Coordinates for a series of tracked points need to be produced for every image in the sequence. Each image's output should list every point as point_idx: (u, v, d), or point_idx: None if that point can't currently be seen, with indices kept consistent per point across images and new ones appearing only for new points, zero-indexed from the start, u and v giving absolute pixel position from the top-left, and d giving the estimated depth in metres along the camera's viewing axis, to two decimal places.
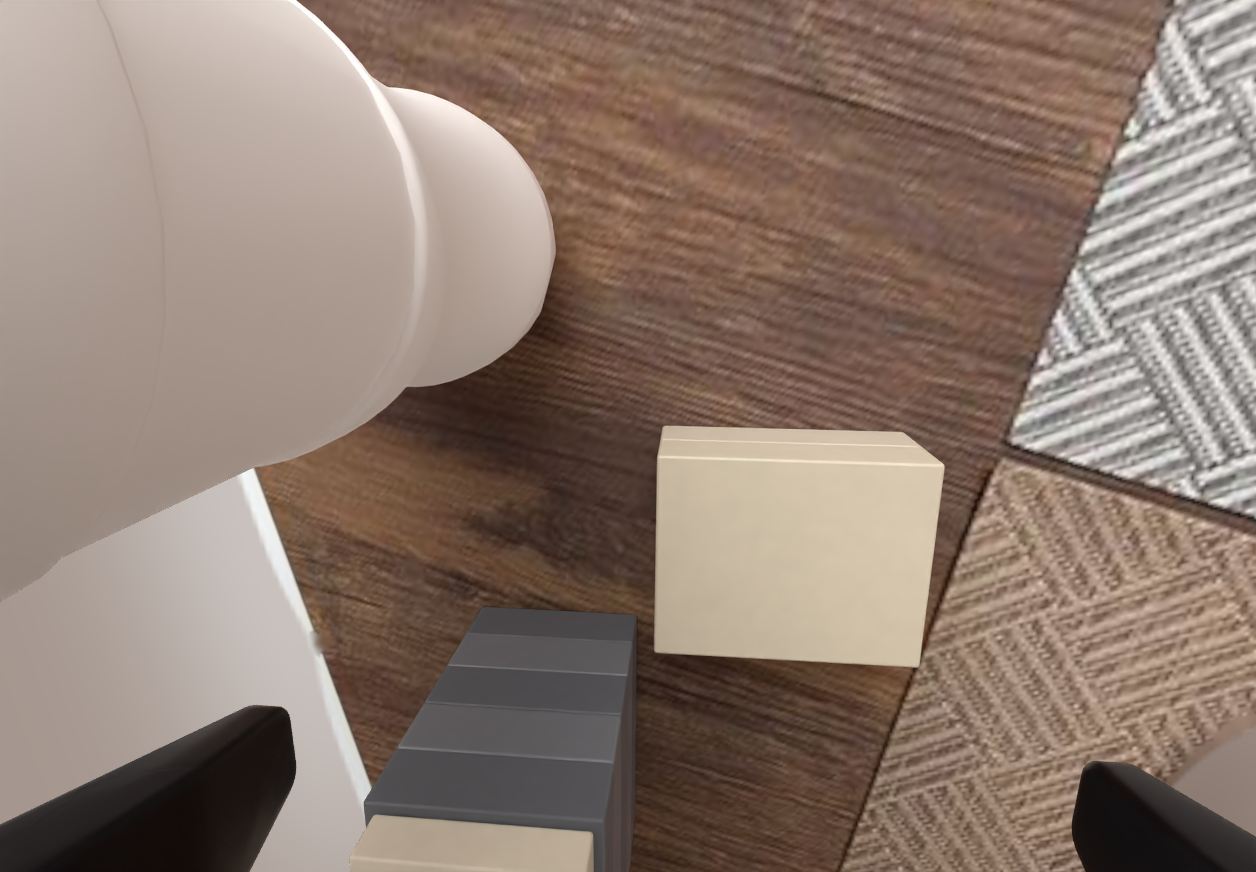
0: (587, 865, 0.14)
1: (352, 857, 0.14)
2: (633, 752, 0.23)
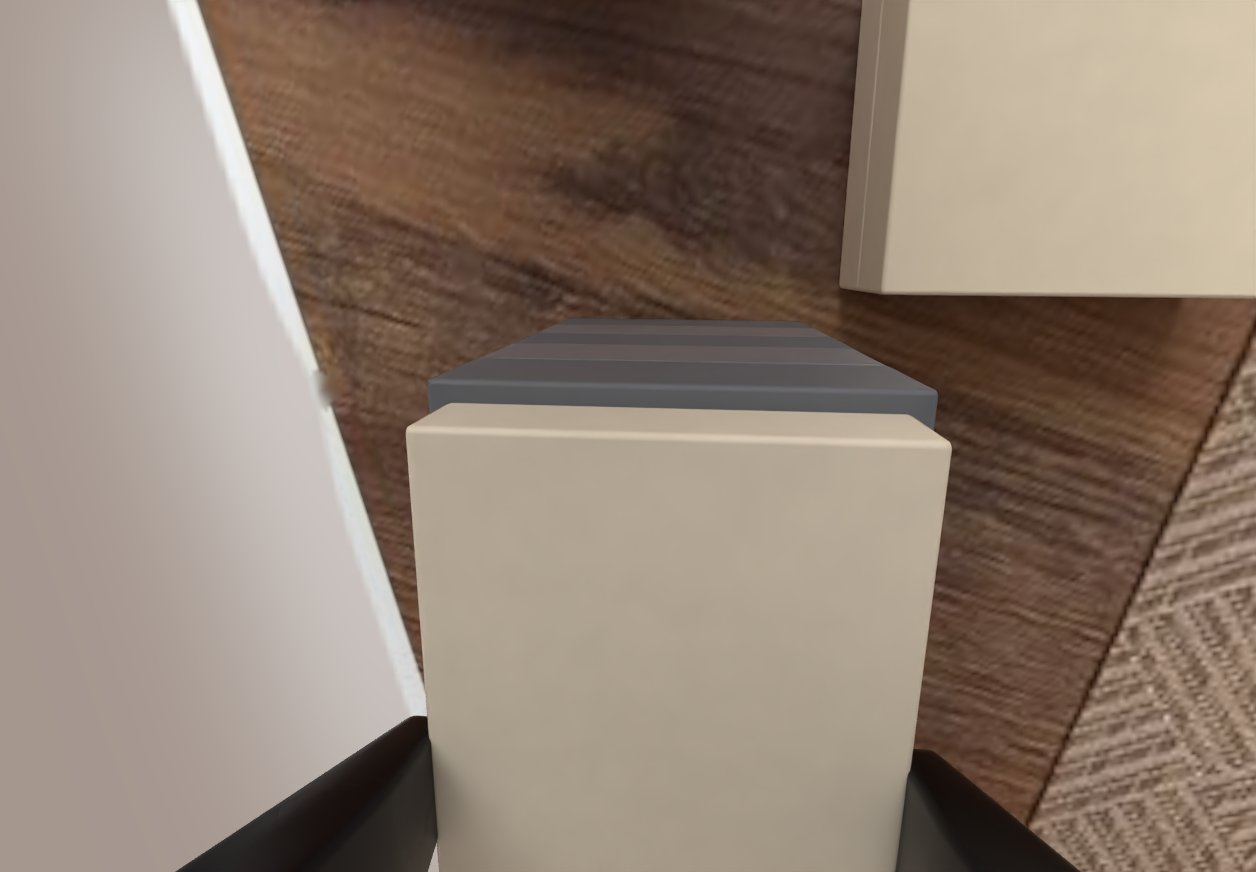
0: None
1: (413, 426, 0.06)
2: None
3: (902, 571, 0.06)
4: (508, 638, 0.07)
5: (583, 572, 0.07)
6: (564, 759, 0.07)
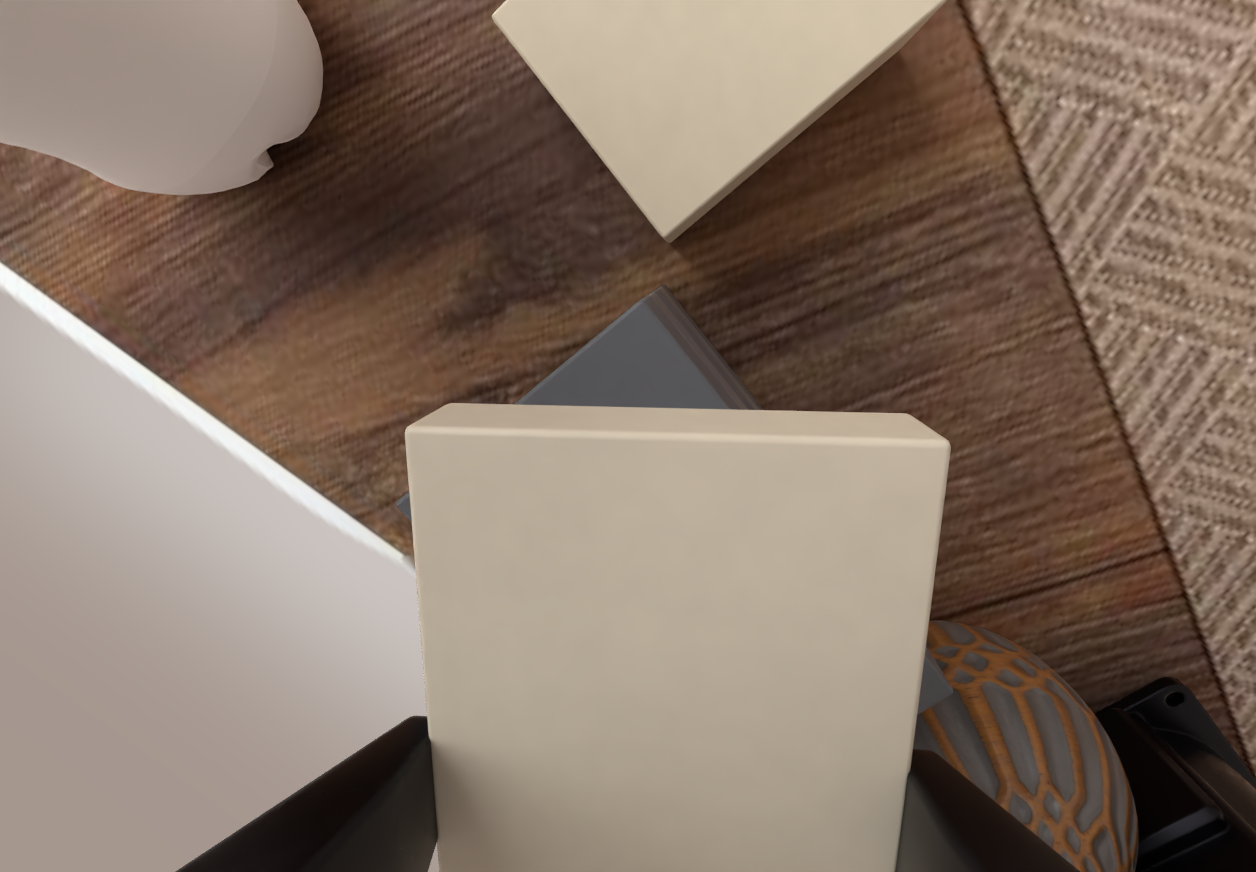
0: None
1: (412, 426, 0.06)
2: None
3: (901, 570, 0.06)
4: (507, 638, 0.07)
5: (583, 572, 0.07)
6: (564, 759, 0.07)
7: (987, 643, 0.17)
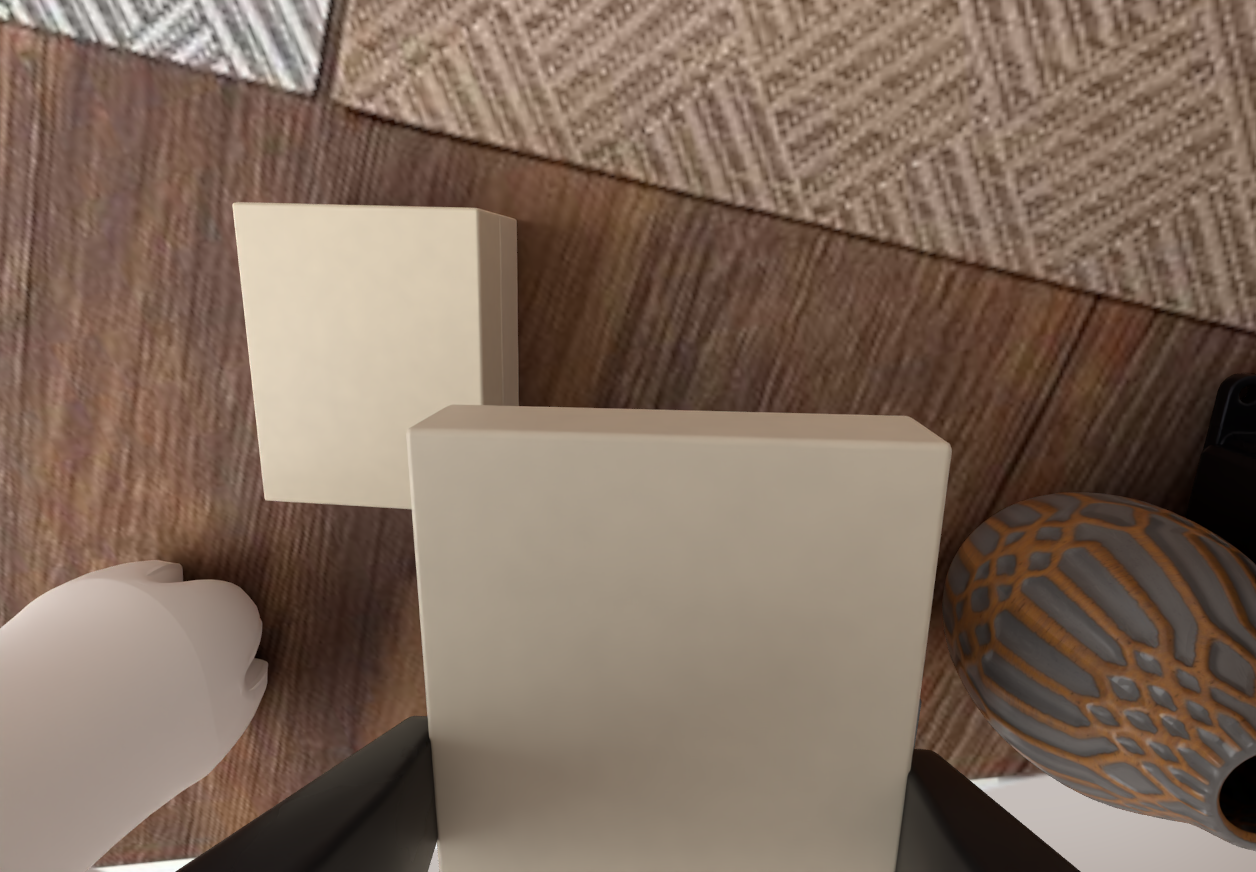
0: None
1: (413, 428, 0.06)
2: None
3: (902, 572, 0.06)
4: (508, 640, 0.07)
5: (583, 574, 0.07)
6: (564, 760, 0.07)
7: (1010, 532, 0.17)
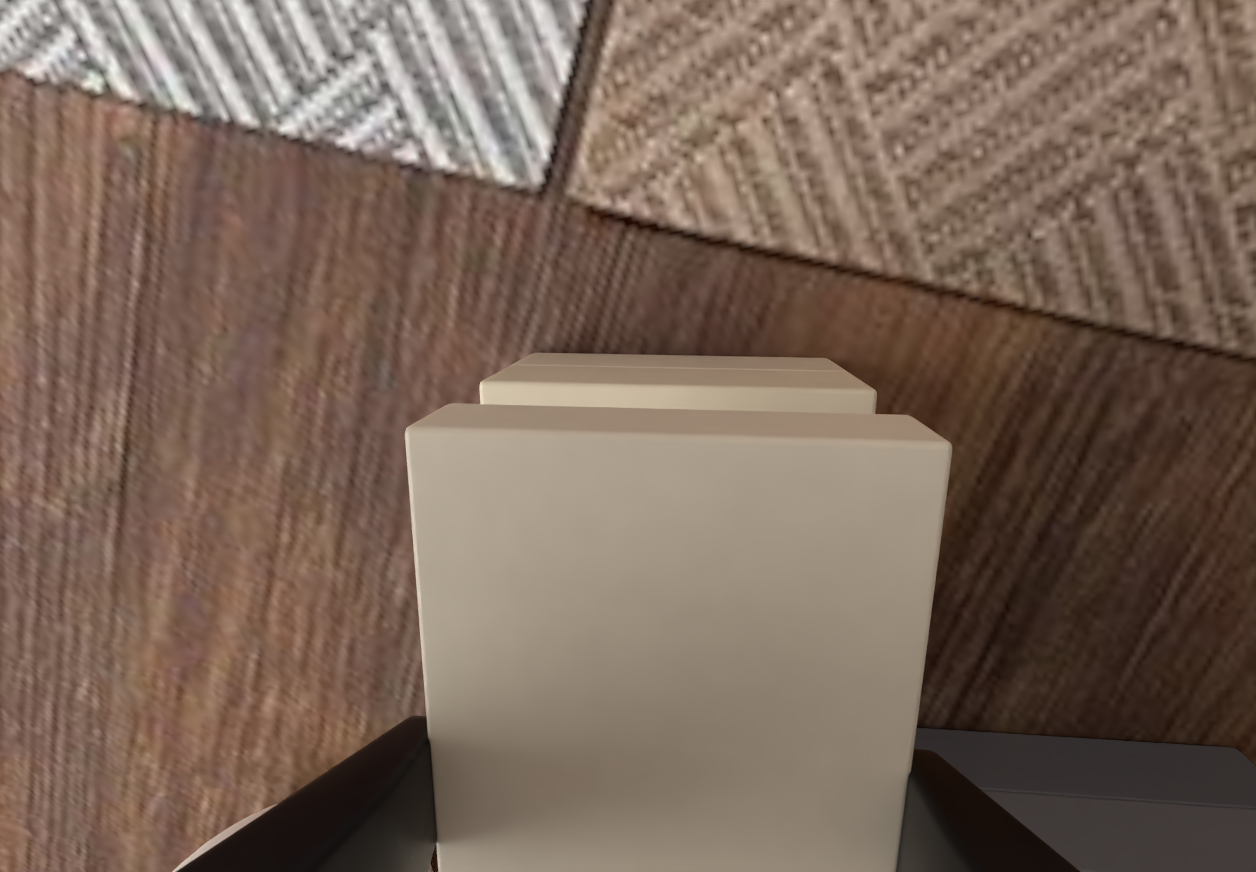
0: None
1: (412, 427, 0.06)
2: (1080, 772, 0.14)
3: (903, 572, 0.06)
4: (507, 639, 0.07)
5: (584, 574, 0.06)
6: (564, 761, 0.07)
7: None
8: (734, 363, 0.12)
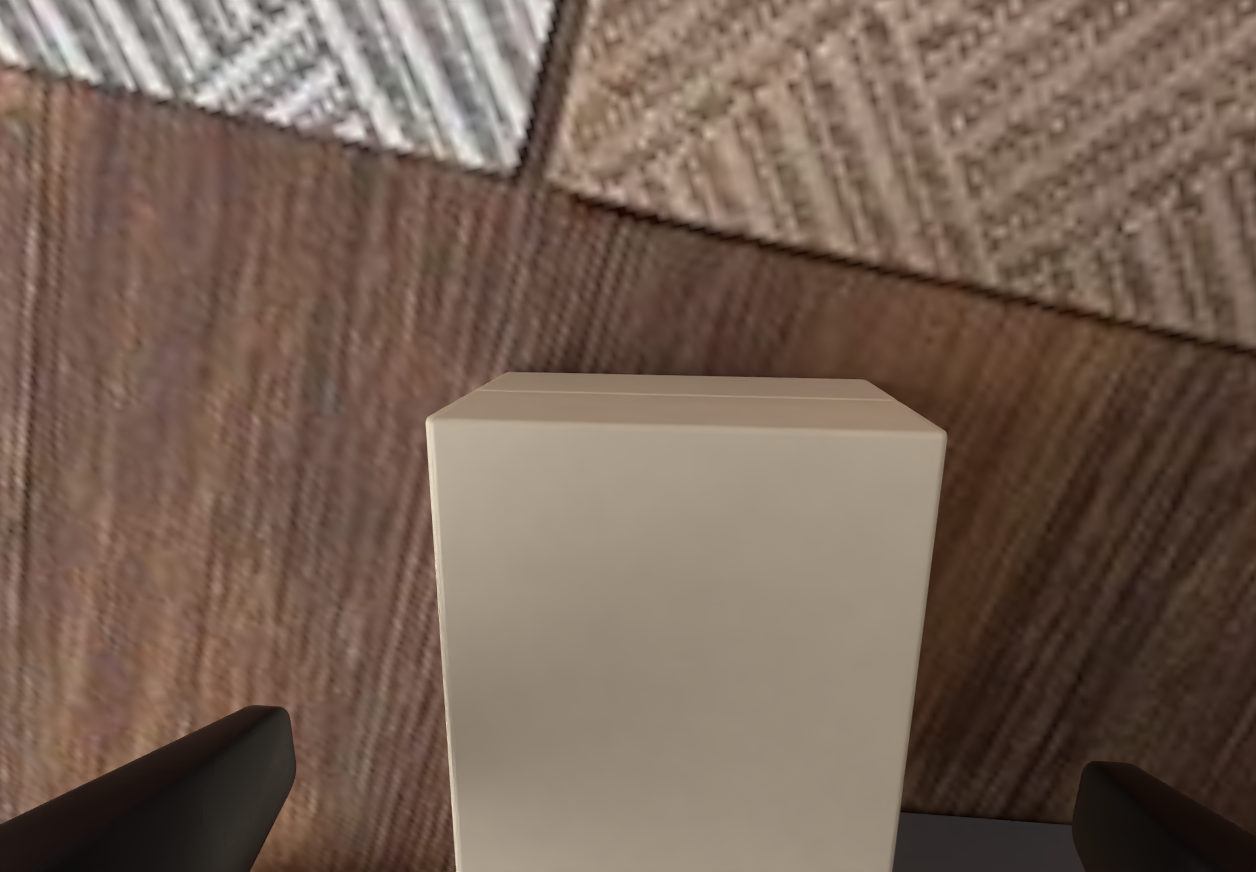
0: None
1: (436, 418, 0.07)
2: None
3: (899, 555, 0.07)
4: (524, 620, 0.07)
5: (597, 557, 0.07)
6: (578, 736, 0.07)
7: None
8: (753, 387, 0.10)
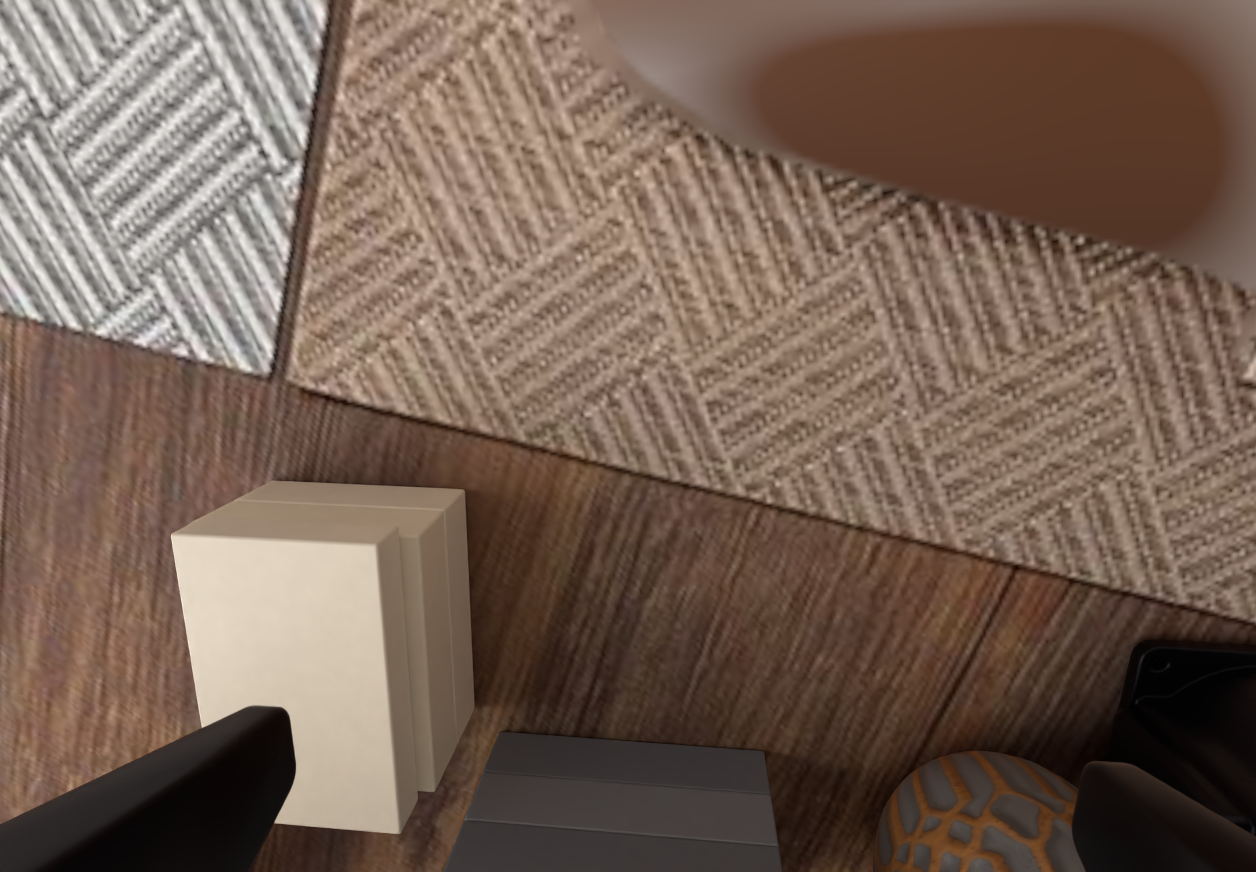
0: (383, 541, 0.16)
1: (173, 533, 0.16)
2: (641, 766, 0.20)
3: (367, 593, 0.16)
4: (219, 620, 0.16)
5: (246, 593, 0.16)
6: (248, 672, 0.16)
7: (929, 815, 0.18)
8: (386, 498, 0.19)
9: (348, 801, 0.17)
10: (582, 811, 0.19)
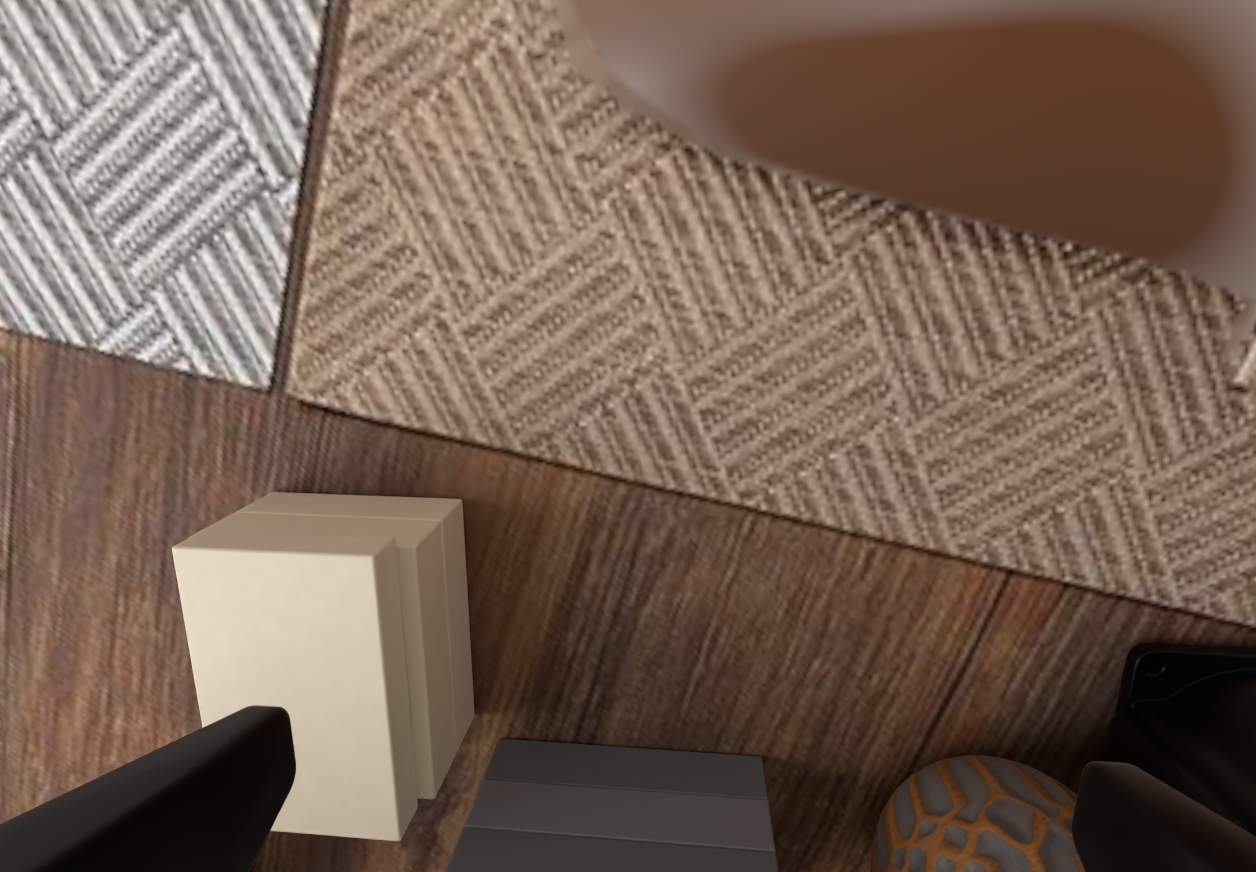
0: (380, 552, 0.16)
1: (174, 546, 0.16)
2: (639, 773, 0.21)
3: (365, 604, 0.16)
4: (219, 631, 0.16)
5: (246, 604, 0.16)
6: (249, 682, 0.17)
7: (925, 819, 0.18)
8: (384, 508, 0.19)
9: (348, 809, 0.17)
10: (580, 817, 0.19)
